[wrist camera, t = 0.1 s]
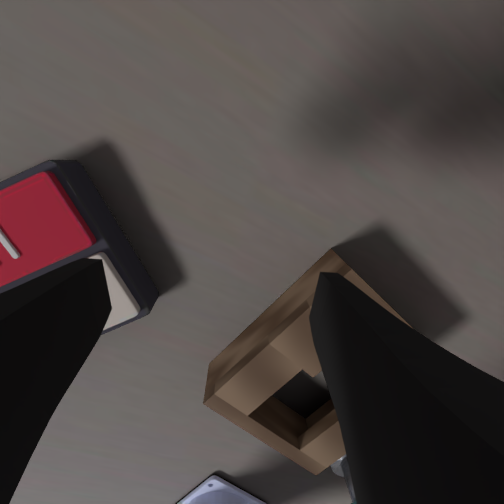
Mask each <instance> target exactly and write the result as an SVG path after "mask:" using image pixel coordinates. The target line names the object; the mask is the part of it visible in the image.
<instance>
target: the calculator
mask: <svg viewBox="0 0 504 504" xmlns="http://www.w3.org/2000/svg"><path fill="white" fill-rule="evenodd" d="M81 258H90V259H102V261H103V266H104V271H105V275H106V280H107V285H108V290H109V295H110V300H111V305H112V310H111V313H110V315H109V318H108V320H107V322H106V325H105V327H104V329H103V331H102V333H101V335H102V334H105V333H107V332H109V331H112V330H114V329H116V328H119V327H121V326H123V325H126V324H128V323H130V322H133V321H135V320H137V319H140V318H142V317H144V316H146V315H148V314H149V313H150V311H151V310H152V308H153V306H154V304H155V302H156V300H157V298H158V296H159V292H158V290H157V288H156V287H155V285H154V283H153V282H152V280H151V278H150V277H149V275H148V274H147V272H146V270H145V269H144V267H143V265H142V264H141V262H140V260H139V259H138V257H137V255H136V254H135V252H134V250H133V249H132V247H131V245H130V244H129V242H128V241H127V239H126V237H125V236H124V234H123V232H122V231H121V229H120V227H119V226H118V224H117V222H116V221H115V219H114V217H113V216H112V214H111V212H110V211H109V209H108V208H107V206H106V204H105V203H104V201H103V199H102V198H101V196H100V194H99V193H98V191H97V189H96V188H95V186H94V184H93V183H92V181H91V179H90V178H89V176H88V175H87V173H86V171H85V170H84V168H83V166H82V165H81V164H80V163H79V162H78V161H72V160H48V161H45V162H43V163H41V164H39V165H37V166H34V167H32V168H30V169H28V170H26V171H24V172H21V173H19V174H17V175H15V176H13V177H11V178H9V179H6V180H4V181H2V182H0V293H3V292H5V291H8V290H10V289H12V288H14V287H17V286H19V285H21V284H23V283H25V282H28V281H30V280H32V279H34V278H36V277H39V276H41V275H43V274H45V273H47V272H50V271H52V270H54V269H56V268H59V267H61V266H63V265H66V264H68V263H70V262H73V261H76V260H79V259H81Z"/></svg>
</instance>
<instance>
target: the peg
mask: <svg viewBox="0 0 504 504" xmlns="http://www.w3.org/2000/svg"><path fill="white" fill-rule="evenodd" d="M331 468H332V471H333V472H334V473H335V474H336V475H338V476H341V477H344V478H345V481H346V484H347V487H348V490H349V493H350V496H351V499H352V502H353V503H351V504H357V503H356V498H355V493H354V488H353V484H352V479H351V474H350V469H349V464H348V460H347V455H346V454H345V455H344V456H343V457H341V458H340V459H338V460H337V461H336V462H334V463H333V464H331Z"/></svg>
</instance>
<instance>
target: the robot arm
mask: <svg viewBox="0 0 504 504" xmlns="http://www.w3.org/2000/svg"><path fill="white" fill-rule="evenodd" d="M111 310H112V305H111V300H110V295H109V290H108V285H107V280H106V275H105V271H104V266H103V261H102V259H90V258H81V259H79V260H76V261H73V262H70V263H68V264H66V265H63V266H61V267H59V268H56V269H54V270H52V271H50V272H47V273H45V274H43V275H41V276H39V277H36V278H34V279H32V280H30V281H28V282H25V283H23V284H21V285H19V286H17V287H14V288H12V289H10V290H8V291H5V292H3V293H0V504H9V503H10V501H11V498H12V496H13V494H14V492H15V490H16V488H17V486H18V483H19V481H20V479H21V477H22V475H23V473H24V471H25V469H26V466H27V464H28V462H29V460H30V458H31V456H32V454H33V452H34V450H35V448H36V446H37V444H38V442H39V440H40V438H41V436H42V434H43V432H44V430H45V428H46V426H47V424H48V422H49V420H50V418H51V416H52V415H53V413H54V411H55V409H56V408H57V406H58V404H59V402H60V401H61V399H62V397H63V396H64V394H65V393H66V391H67V389H68V388H69V386H70V385H71V383H72V381H73V380H74V378H75V377H76V375H77V373H78V372H79V370H80V368H81V367H82V365H83V364H84V362H85V360H86V359H87V357H88V356H89V354H90V352H91V351H92V349H93V347H94V346H95V344H96V342H97V341H98V339H99V337H100V335H101V333H102V331H103V329H104V327H105V325H106V322H107V320H108V318H109V315H110V313H111ZM309 321H310V327H311V333H312V338H313V343H314V346H315V350H316V353H317V356H318V359H319V362H320V365H321V368H322V371H323V374H324V377H325V380H326V383H327V386H328V389H329V392H330V396H331V399H332V402H333V405H334V408H335V411H336V414H337V418H338V421H339V425H340V429H341V434H342V438H343V442H344V447H345V451H346V455H347V460H348V464H349V469H350V474H351V479H352V484H353V488H354V493H355V498H356V503H357V504H504V382H502V381H500V380H499V379H497V378H495V377H493V376H491V375H489V374H487V373H485V372H483V371H482V370H480V369H478V368H476V367H474V366H473V365H471V364H469V363H467V362H466V361H464V360H462V359H460V358H459V357H457V356H455V355H454V354H452V353H450V352H449V351H447V350H445V349H444V348H442V347H441V346H439V345H437V344H436V343H434V342H432V341H431V340H429V339H428V338H426V337H425V336H423V335H422V334H420V333H419V332H417V331H416V330H414V329H413V328H411V327H410V326H408V325H407V324H406V323H404V322H403V321H401V320H400V319H398V318H397V317H396V316H394V315H393V314H392V313H390V312H389V311H388V310H386V309H385V308H384V307H382V306H381V305H380V304H378V303H377V302H376V301H374V300H373V299H372V298H370V297H369V296H368V295H367V294H365V293H364V292H363V291H362V290H360V289H359V288H358V287H356V286H355V285H354V284H353V283H351V282H350V281H349V280H347V279H346V278H345V277H343V276H342V275H340V274H339V273H333V272H320V274H319V278H318V282H317V286H316V291H315V295H314V299H313V303H312V307H311V311H310V315H309ZM177 504H266V503H264V502H263V501H261V500H259V499H257V498H255V497H254V496H252V495H250V494H248V493H247V492H245V491H243V490H241V489H239V488H238V487H236V486H234V485H232V484H230V483H229V482H227V481H225V480H223V479H222V478H220V477H218V476H216V475H213V476H211V477H209V478H208V479H207V480H206V481H204V482H203V483H202V484H201V485H200V486H198V487H197V488H196V489H195V490H193V491H192V492H191V493H190V494H188V495H187V496H186V497H185V498H184V499H182V500H181V501H180V502H179V503H177Z"/></svg>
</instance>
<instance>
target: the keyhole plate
mask: <svg viewBox="0 0 504 504" xmlns="http://www.w3.org/2000/svg"><path fill="white" fill-rule="evenodd" d="M320 272H333V273H339V274H340V275H342V276H343V277H345V278H346V279H347V280H349V281H350V282H351V283H353V284H354V285H355V286H356V287H358V288H359V289H360V290H362V291H363V292H364V293H365V294H367V295H368V296H369V297H370V298H372V299H373V300H374V301H376V302H377V303H378V304H380V305H381V306H382V307H384V308H385V309H386V310H388V311H389V312H390V313H392V314H393V315H394V316H396V317H397V318H398V319H400V320H401V321H403V322H404V323H406V324H407V325H408V326H410V325H409V324H408V323H407V322H406V321H405V320H404V319H403V318H402V317H401V316H400V315H399V314H398V313H397V312H396V311H395V310H394V309H393V308H392V307H391V306H390V305H389V304H388V303H387V302H386V301H384V300H383V299H382V298H381V297H380V296H379V295H378V294H377V293H376V292H375V291H374V290H373V289H372V288H371V287H370V286H369V285H368V284H367V283H366V282H365V281H364V280H363V279H362V278H361V277H360V276H359V275H358V274H357V273H356V272H355V271H354V270H352V269H351V268H350V267H349V266H348V265H347V264H346V263H345V262H344V261H343V260H342V259H341V258H340V257H339V256H338V255H337V254H336V253H335V252H334V251H333V250H332V249H330V250H329V251H328V252H327V253H326V254H324V255H323V256H322V257H321V258H320V259H319V260H318V261H317V262H316V263H315V264H314V265H313V266H312V267H311V268H310V269H309V270H308V271H307V272H305V273H304V274H303V275H302V276H301V277H300V278H299V279H298V280H297V281H296V282H295V283H294V284H293V285H292V286H291V287H290V288H289V289H288V290H287V291H285V292H284V293H283V294H282V295H281V296H280V297H279V298H278V299H277V300H276V301H275V302H274V303H273V304H272V305H271V306H270V307H269V308H268V309H266V310H265V311H264V312H263V313H262V314H261V315H260V316H259V317H258V318H257V319H256V320H255V321H254V322H253V323H252V324H251V325H250V326H249V327H248V328H246V329H245V330H244V331H243V332H242V333H241V334H240V335H239V336H238V337H237V338H236V339H235V340H234V341H233V342H232V343H231V344H230V345H229V346H227V347H226V348H225V349H224V350H223V351H222V352H221V353H220V354H219V355H218V356H217V357H216V358H215V359H214V360H213V361H212V362H211V363H210V364H209V369H208V375H207V382H206V388H205V395H204V402H203V404H204V405H206V406H207V407H209V408H210V409H212V410H214V411H215V412H217V413H218V414H220V415H221V416H223V417H225V418H226V419H228V420H229V421H231V422H232V423H234V424H236V425H237V426H239V427H240V428H242V429H243V430H245V431H247V432H248V433H250V434H251V435H253V436H254V437H256V438H258V439H259V440H261V441H262V442H264V443H265V444H267V445H269V446H270V447H272V448H273V449H275V450H276V451H278V452H280V453H281V454H283V455H284V456H286V457H287V458H289V459H291V460H292V461H294V462H295V463H297V464H298V465H300V466H302V467H303V468H305V469H306V470H308V471H309V472H311V473H313V474H314V475H318V474H319V473H320V472H322V471H323V470H325V469H326V468H327V467H329V466H330V465H331V464H333V463H334V462H336V461H337V460H338V459H340V458H341V457H343V456H344V455H345V454H346V451H345V447H344V442H343V438H342V434H341V429H340V425H339V421H338V418H337V414H336V411H335V408H334V405H333V402H332V399H330V400H329V401H327V402H326V403H325V404H324V405H322V406H321V407H320V408H319V409H317V410H316V411H315V412H314V413H312V414H311V415H310V416H309V417H307V418H306V419H305V418H303V417H302V416H300V415H299V414H298V413H296V412H295V411H293V410H292V409H291V408H289V407H288V406H286V405H285V404H283V403H282V402H281V401H279V400H278V399H276V398H275V397H273V396H272V395H273V394H274V393H275V392H276V391H277V390H279V389H280V388H281V387H282V386H283V385H284V384H286V383H287V382H288V381H289V380H290V379H292V378H293V377H294V376H295V375H296V374H297V373H299V372H300V371H301V370H302V369H303V370H304V371H305V372H306V373H308V374H309V375H310V376H312V377H314V376H316V375H317V374H318V373H319V372H320V371H322V368H321V365H320V362H319V359H318V356H317V353H316V350H315V346H314V343H313V338H312V333H311V327H310V321H309V315H310V311H311V307H312V303H313V299H314V295H315V291H316V286H317V282H318V278H319V274H320ZM410 327H411V326H410ZM411 328H412V327H411Z"/></svg>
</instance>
